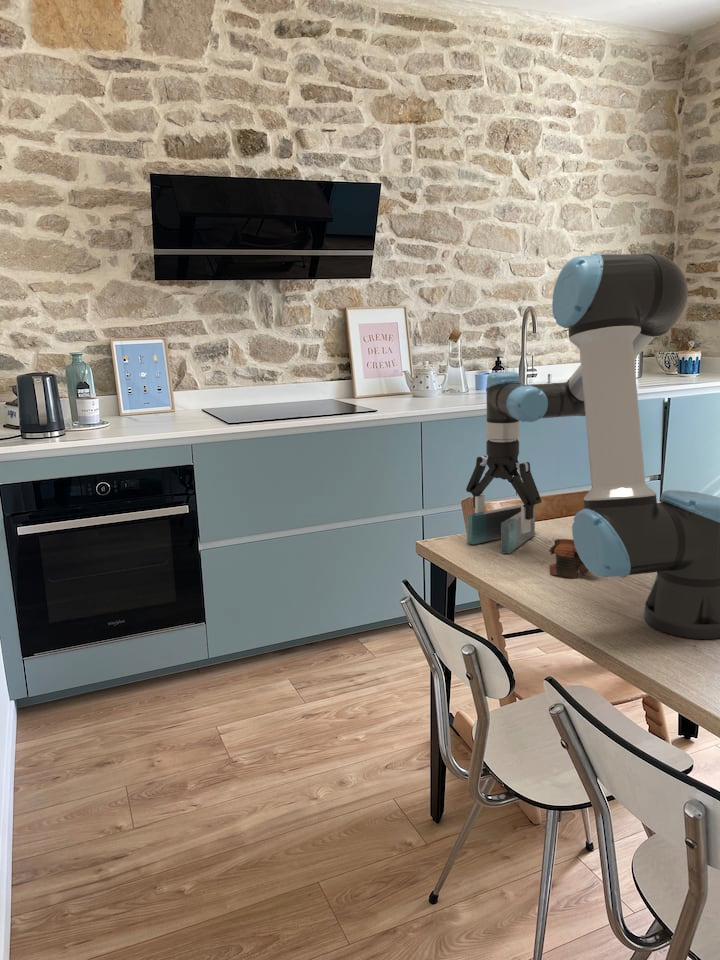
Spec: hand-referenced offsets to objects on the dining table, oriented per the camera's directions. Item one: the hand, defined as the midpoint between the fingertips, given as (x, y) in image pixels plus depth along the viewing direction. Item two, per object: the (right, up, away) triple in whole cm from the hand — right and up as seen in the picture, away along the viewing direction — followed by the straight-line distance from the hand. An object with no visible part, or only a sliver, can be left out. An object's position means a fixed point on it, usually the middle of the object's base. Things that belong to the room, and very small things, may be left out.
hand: (502, 526), depth 178 cm
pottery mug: (+11, -9, -20) cm, 24 cm away
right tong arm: (+4, -4, 0) cm, 6 cm away
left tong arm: (-1, -3, +5) cm, 6 cm away
